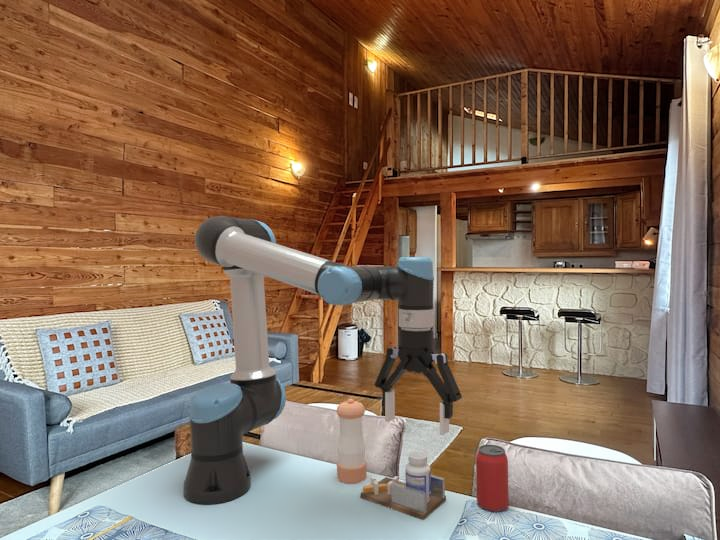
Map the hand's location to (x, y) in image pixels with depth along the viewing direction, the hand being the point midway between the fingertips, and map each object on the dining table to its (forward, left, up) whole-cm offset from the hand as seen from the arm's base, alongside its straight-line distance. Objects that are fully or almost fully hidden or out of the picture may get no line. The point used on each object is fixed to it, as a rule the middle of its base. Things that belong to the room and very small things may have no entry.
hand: (416, 426), depth 103 cm
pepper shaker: (-20, +2, -17) cm, 26 cm away
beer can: (+13, +9, -17) cm, 23 cm away
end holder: (0, 0, -17) cm, 17 cm away
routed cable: (-8, -1, -16) cm, 18 cm away
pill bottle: (0, 0, -16) cm, 16 cm away
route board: (-4, 0, -17) cm, 17 cm away
